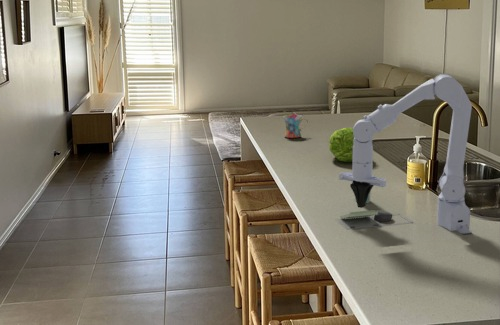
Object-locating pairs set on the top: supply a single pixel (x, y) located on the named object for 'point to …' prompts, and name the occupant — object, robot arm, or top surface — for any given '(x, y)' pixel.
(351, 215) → the cover
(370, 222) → the grey ball tray
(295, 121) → the mug
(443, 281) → the top surface
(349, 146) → the lettuce
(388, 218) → the dark grey pebble
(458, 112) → the robot arm
